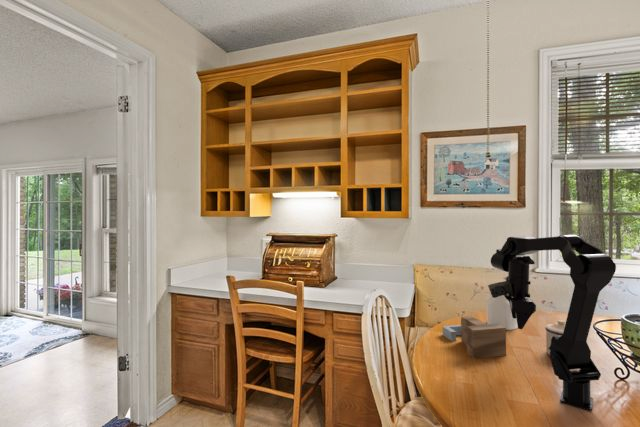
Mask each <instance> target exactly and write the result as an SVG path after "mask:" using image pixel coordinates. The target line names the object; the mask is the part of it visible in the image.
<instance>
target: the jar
mask: <svg viewBox="0 0 640 427" xmlns="http://www.w3.org/2000/svg"><path fill="white" fill-rule="evenodd" d="M486 324H487V325H489V324H499V325H501V326H503V327H505V328H506V331H507V330H508V331H514V330H517V329H518V325H517V319H516V318H513V317H512V313H511V308H510V304H509V301H508V300H507V299H506V298H505V296H504V295H502V296H498V297H496V298H493V297H492V295H491V294H490V295H489V297H488V298H486Z"/></svg>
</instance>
